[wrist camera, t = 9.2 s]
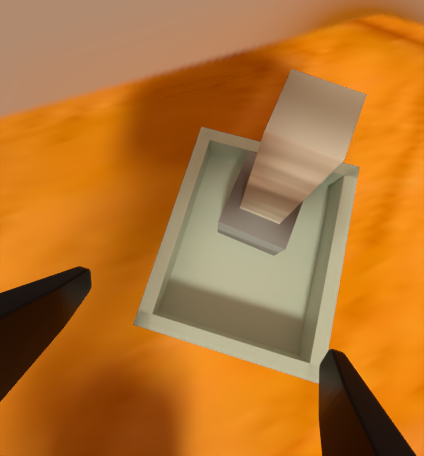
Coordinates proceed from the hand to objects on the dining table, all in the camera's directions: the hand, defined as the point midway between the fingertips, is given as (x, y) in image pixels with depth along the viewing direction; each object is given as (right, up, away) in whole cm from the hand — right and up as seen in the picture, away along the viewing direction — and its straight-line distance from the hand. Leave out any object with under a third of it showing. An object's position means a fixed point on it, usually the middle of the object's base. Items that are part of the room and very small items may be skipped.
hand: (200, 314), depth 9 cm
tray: (+4, +2, +12) cm, 13 cm away
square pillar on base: (+4, +4, +12) cm, 14 cm away
